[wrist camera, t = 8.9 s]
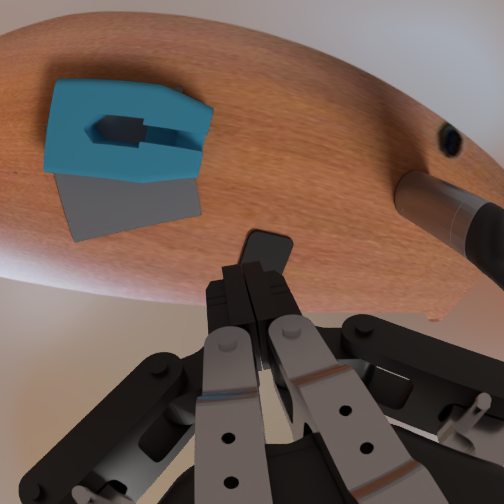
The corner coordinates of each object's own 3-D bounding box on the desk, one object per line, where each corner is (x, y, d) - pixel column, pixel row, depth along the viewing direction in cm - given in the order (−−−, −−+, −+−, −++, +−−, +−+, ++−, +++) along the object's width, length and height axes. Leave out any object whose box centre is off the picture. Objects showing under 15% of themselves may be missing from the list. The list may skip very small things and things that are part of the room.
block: (214, 96, 33) (71, 81, 27) (218, 93, 28) (56, 78, 22) (194, 183, 37) (58, 166, 32) (194, 193, 33) (43, 173, 27)
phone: (224, 310, 48) (251, 229, 42) (223, 307, 49) (250, 227, 43) (265, 315, 50) (296, 240, 44) (263, 312, 51) (294, 237, 45)
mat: (181, 86, 32) (181, 86, 31) (201, 213, 40) (201, 215, 39) (46, 126, 29) (44, 126, 28) (76, 241, 37) (74, 242, 37)
